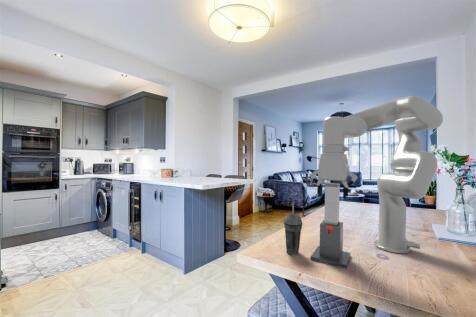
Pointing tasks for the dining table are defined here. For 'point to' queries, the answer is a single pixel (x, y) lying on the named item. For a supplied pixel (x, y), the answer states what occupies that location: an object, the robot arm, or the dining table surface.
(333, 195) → the column
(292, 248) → the beverage cup
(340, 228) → the stand
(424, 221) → the dining table surface
